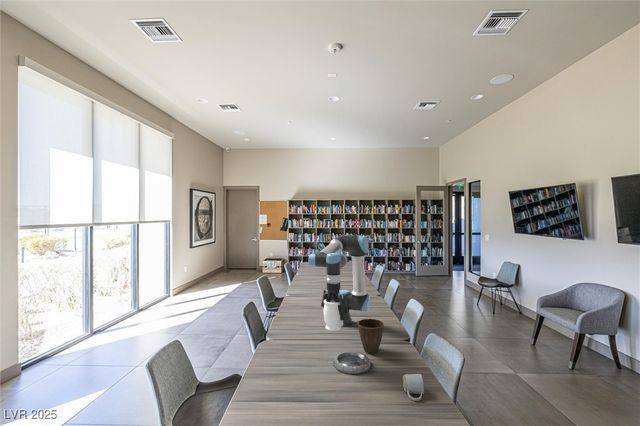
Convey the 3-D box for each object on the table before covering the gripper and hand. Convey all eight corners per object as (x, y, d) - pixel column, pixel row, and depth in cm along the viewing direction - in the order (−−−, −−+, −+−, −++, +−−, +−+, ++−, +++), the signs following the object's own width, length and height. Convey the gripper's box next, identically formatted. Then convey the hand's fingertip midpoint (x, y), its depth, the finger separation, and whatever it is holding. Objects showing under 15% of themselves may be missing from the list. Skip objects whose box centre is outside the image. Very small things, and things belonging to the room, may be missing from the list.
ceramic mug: (402, 386, 134) (402, 369, 134) (420, 387, 133) (420, 370, 133) (406, 401, 123) (406, 383, 123) (426, 402, 122) (426, 384, 122)
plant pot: (368, 359, 159) (367, 329, 159) (352, 348, 172) (352, 321, 172) (389, 353, 166) (389, 325, 166) (373, 343, 179) (372, 317, 179)
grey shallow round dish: (326, 364, 154) (326, 357, 154) (350, 352, 167) (350, 346, 167) (353, 379, 140) (353, 371, 140) (377, 365, 153) (377, 358, 153)
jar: (345, 326, 161) (345, 298, 161) (340, 333, 151) (340, 304, 151) (327, 323, 164) (327, 297, 165) (320, 330, 155) (320, 302, 155)
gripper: (314, 279, 164) (314, 319, 164) (343, 287, 147) (343, 331, 147) (324, 277, 169) (324, 316, 169) (353, 284, 152) (354, 327, 152)
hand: (333, 323), depth 158 cm, fingers closed on jar, 10 cm apart
